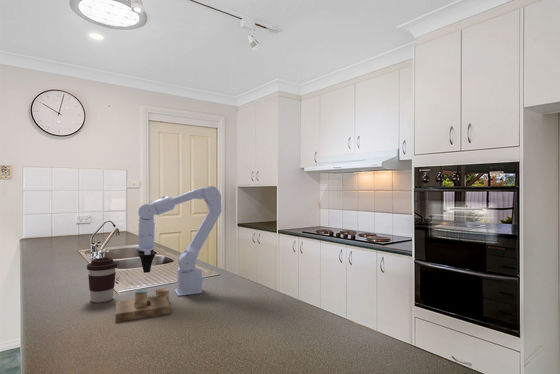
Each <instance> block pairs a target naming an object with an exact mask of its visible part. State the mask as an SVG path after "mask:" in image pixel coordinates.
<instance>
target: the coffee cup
mask: <svg viewBox="0 0 560 374" xmlns="http://www.w3.org/2000/svg"><path fill="white" fill-rule="evenodd" d="M117 267H118V261H115V260H114V259H113V258H112V257H98V258H94V259H92V260H91V262H90V263H88V264H87V265H86V270H87V271H88V287H89V295H90V301H91V302H92V303H98V304H99V303H100V304H101V303H105V302H109V301H111V300H112V299H113V298H114V289H115V285H116V284H115V283H116V273H117V272H116V268H117Z"/></svg>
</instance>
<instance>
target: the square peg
mask: <svg viewBox="0 0 560 374" xmlns="http://www.w3.org/2000/svg"><path fill="white" fill-rule="evenodd" d="M134 293H135V294H134V295H135V296H134V300H135V308H136V307H143V306H147V298H148V289H147V288H139V289H138V288H137V289H135V290H134Z"/></svg>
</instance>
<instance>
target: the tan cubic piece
mask: <svg viewBox="0 0 560 374" xmlns="http://www.w3.org/2000/svg"><path fill="white" fill-rule="evenodd" d="M169 292H170V291H169V289H167V288H166V287H165V288H159V289H155V297H159V296H166V298H167V300H168V303H169V301H170V300H169V299H170V297H169Z"/></svg>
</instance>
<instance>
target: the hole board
mask: <svg viewBox="0 0 560 374" xmlns="http://www.w3.org/2000/svg"><path fill="white" fill-rule="evenodd" d="M115 305H116V306H115V323H117V322H126V321H131V320H139V319H145V318H152V317H158V316H165V315H170V314H171V305H170V304H169V302H168V300H167V298H166V296H159V297H156V296H153V297H147V306H143V307H136V308H135V299H129V300H127V299H126V300H122V301H116V303H115Z"/></svg>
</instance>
